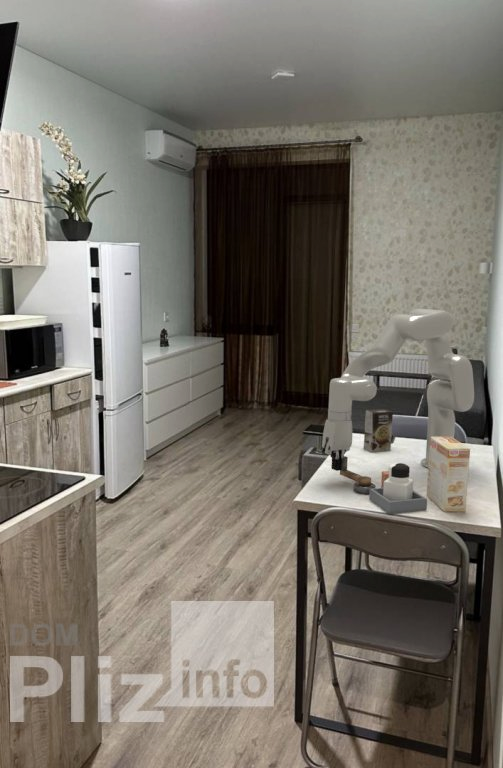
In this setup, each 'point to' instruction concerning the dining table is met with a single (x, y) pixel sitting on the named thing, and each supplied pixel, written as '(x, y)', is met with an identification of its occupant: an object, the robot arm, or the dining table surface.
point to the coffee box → (378, 430)
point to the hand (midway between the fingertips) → (336, 469)
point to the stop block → (384, 477)
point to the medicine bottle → (398, 483)
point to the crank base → (363, 488)
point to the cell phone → (392, 438)
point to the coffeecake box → (448, 473)
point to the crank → (354, 474)
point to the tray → (397, 502)
